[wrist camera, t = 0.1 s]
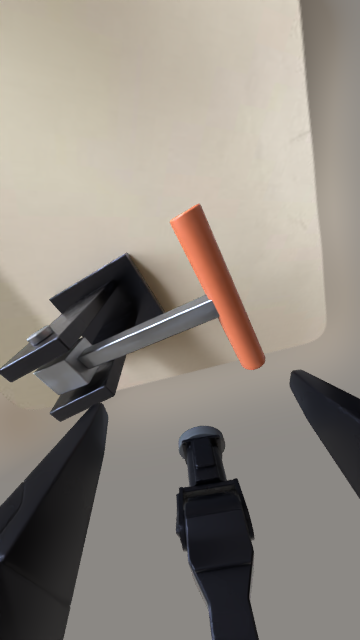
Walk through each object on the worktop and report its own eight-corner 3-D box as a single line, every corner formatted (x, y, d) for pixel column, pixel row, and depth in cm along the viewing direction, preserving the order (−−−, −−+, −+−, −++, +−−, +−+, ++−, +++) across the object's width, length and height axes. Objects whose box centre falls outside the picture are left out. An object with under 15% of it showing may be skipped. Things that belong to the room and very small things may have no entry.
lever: (199, 202, 9) (199, 202, 7) (260, 345, 13) (271, 372, 11) (18, 312, 13) (-15, 332, 11) (104, 397, 17) (91, 424, 15)
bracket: (127, 252, 22) (81, 287, 10) (164, 311, 25) (165, 393, 13) (54, 296, 23) (-65, 374, 11) (98, 346, 26) (44, 449, 14)
